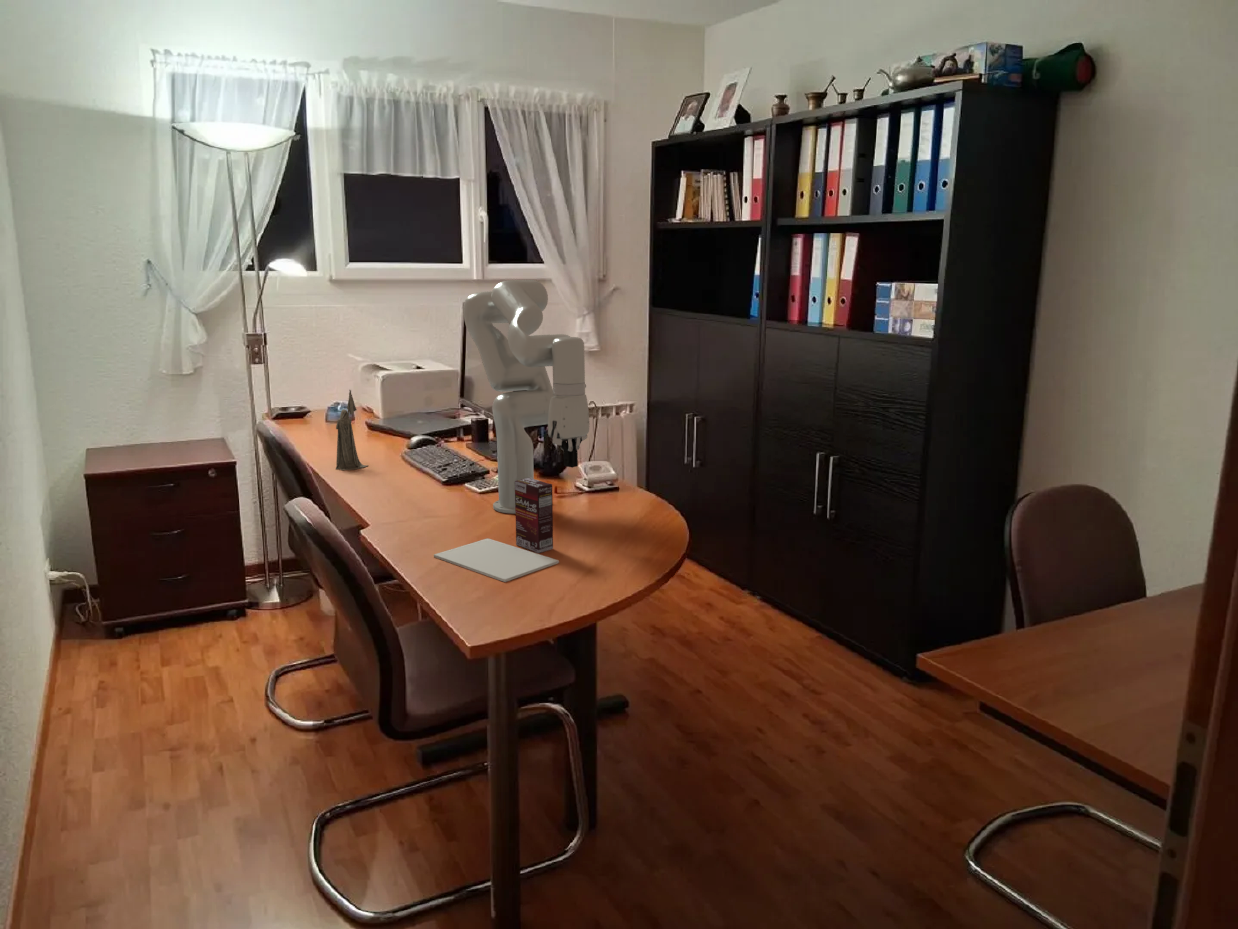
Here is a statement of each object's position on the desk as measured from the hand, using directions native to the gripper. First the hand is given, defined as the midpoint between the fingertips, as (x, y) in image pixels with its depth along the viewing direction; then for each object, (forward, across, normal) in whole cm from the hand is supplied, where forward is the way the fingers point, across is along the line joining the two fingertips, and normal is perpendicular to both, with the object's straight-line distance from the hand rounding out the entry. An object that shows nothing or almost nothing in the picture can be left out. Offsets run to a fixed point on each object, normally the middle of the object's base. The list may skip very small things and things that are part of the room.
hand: (570, 466), depth 215 cm
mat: (+18, +24, -1) cm, 30 cm away
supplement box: (+18, +12, -1) cm, 21 cm away
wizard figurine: (+16, -5, -104) cm, 105 cm away
